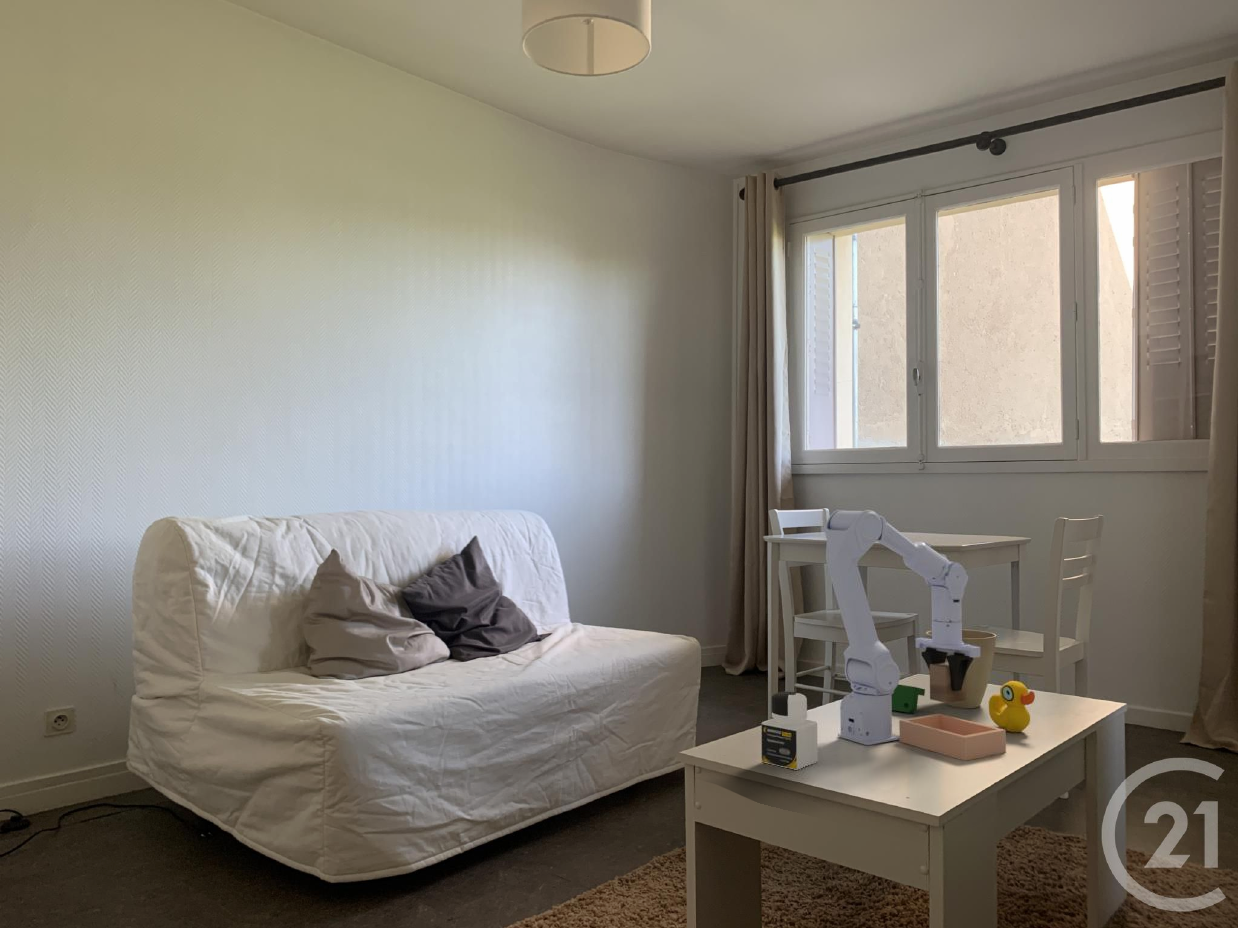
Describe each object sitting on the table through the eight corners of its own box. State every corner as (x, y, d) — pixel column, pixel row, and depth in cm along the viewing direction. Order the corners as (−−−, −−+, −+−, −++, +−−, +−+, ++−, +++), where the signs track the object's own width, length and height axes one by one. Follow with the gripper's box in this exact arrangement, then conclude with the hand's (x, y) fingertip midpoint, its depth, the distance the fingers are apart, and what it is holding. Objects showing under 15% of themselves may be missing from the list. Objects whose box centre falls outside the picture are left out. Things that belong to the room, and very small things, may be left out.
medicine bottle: (760, 763, 159) (760, 693, 160) (783, 754, 164) (782, 687, 165) (796, 771, 154) (795, 699, 155) (818, 762, 160) (817, 693, 160)
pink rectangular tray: (965, 760, 161) (964, 737, 161) (899, 741, 174) (899, 720, 174) (1005, 752, 166) (1005, 729, 167) (939, 733, 179) (939, 713, 179)
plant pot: (946, 694, 216) (945, 627, 217) (1009, 705, 205) (1007, 633, 206) (914, 704, 206) (913, 633, 207) (978, 715, 195) (977, 640, 196)
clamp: (914, 730, 200) (934, 694, 199) (901, 728, 196) (921, 691, 195) (871, 700, 209) (890, 665, 208) (858, 697, 205) (877, 662, 204)
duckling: (1045, 737, 177) (1044, 685, 178) (1023, 739, 175) (1022, 686, 176) (1002, 723, 188) (1002, 674, 188) (981, 725, 186) (980, 676, 187)
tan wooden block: (946, 702, 181) (945, 667, 182) (930, 699, 185) (929, 664, 185) (966, 699, 184) (966, 664, 185) (950, 696, 188) (949, 661, 188)
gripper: (990, 623, 181) (991, 692, 180) (931, 615, 193) (932, 680, 193) (966, 625, 177) (967, 696, 177) (908, 617, 190) (908, 683, 189)
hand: (947, 688), depth 185 cm, fingers closed on tan wooden block, 4 cm apart
